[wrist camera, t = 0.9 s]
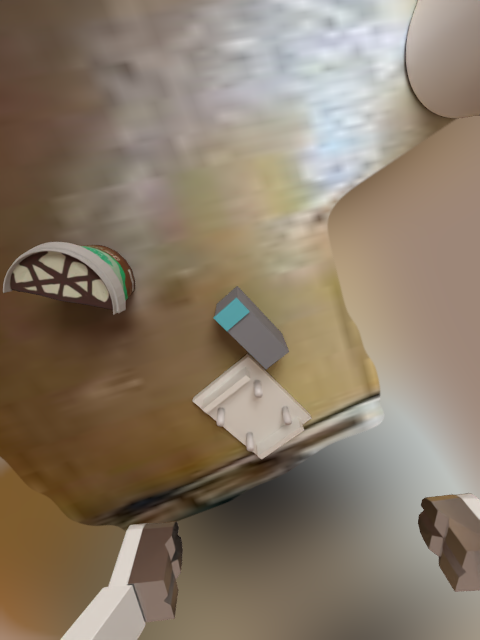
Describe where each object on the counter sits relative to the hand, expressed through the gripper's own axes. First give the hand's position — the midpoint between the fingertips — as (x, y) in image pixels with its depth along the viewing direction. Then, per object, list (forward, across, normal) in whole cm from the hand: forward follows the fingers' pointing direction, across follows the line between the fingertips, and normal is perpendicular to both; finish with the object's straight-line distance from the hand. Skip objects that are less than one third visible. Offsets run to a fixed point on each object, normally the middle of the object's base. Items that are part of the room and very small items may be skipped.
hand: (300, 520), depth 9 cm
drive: (+33, 0, +5) cm, 33 cm away
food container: (+33, +19, -6) cm, 38 cm away
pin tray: (+33, 0, +20) cm, 39 cm away
